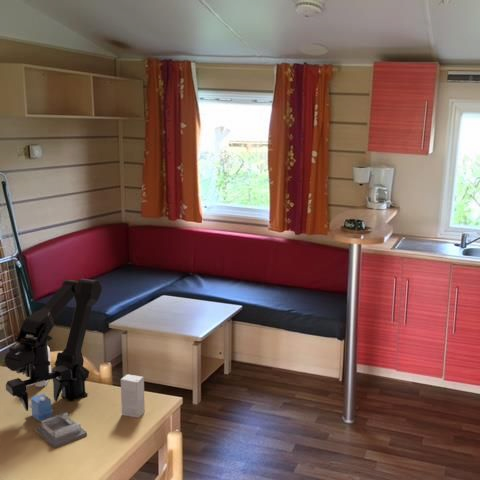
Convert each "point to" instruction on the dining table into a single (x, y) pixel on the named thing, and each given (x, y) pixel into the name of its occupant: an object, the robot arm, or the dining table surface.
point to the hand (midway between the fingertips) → (41, 405)
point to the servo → (41, 407)
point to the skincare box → (132, 395)
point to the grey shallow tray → (60, 430)
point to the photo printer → (49, 372)
